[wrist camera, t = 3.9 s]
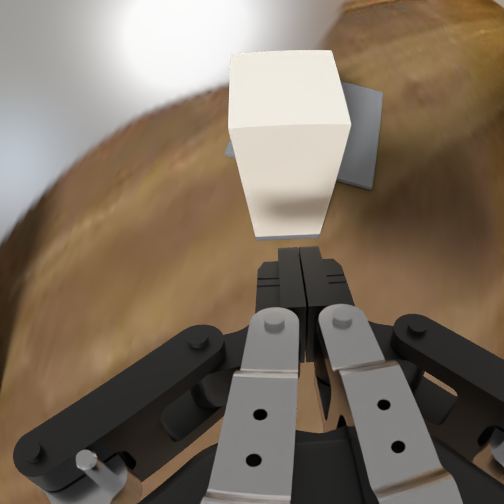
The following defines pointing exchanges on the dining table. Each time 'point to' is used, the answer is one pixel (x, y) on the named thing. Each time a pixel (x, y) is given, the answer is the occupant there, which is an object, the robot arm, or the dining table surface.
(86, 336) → the dining table surface
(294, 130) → the block
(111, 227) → the dining table surface
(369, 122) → the mat
